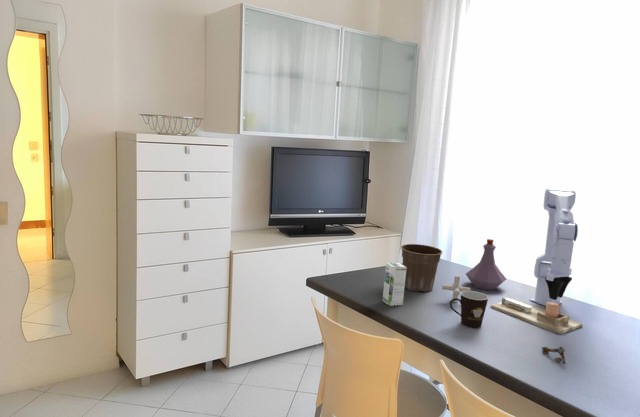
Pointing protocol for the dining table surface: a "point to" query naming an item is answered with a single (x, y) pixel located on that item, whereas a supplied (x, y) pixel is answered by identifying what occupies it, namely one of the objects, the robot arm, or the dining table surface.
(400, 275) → the syrup box
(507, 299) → the lock pin
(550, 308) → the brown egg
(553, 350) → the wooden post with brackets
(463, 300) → the coffee mug
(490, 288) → the flask
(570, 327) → the dock
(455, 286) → the pipe connector
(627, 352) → the dining table surface
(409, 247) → the plant pot
